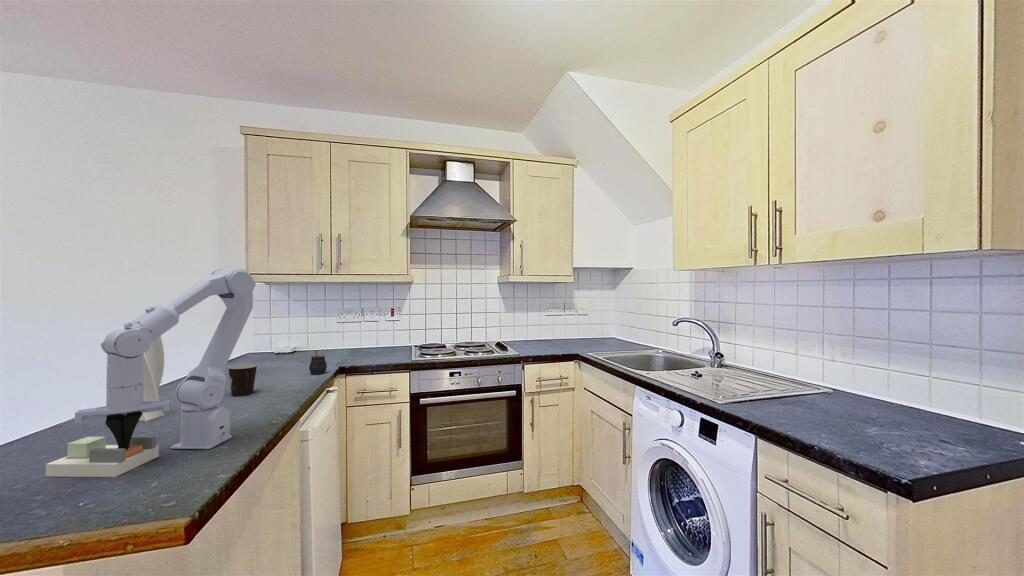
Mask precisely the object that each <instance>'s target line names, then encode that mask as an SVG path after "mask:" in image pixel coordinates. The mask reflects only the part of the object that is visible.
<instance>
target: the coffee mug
mask: <svg viewBox="0 0 1024 576" xmlns="http://www.w3.org/2000/svg"><path fill="white" fill-rule="evenodd" d="M257 366H258V365H257V364H237V365H232V366H231V365H230V366H229V367H228V376H229V382H230V391H231V392H230V393H231V397H246V396H249V395H253V393H254V387H255V380H256V373H257V368H258V367H257Z"/></svg>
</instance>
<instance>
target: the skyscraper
mask: <svg viewBox="0 0 1024 576" xmlns="http://www.w3.org/2000/svg"><path fill="white" fill-rule="evenodd" d="M164 369H165V349H164V343H163V338H162V335H161V336H159V337H158V338H157V339H155V340H154V341H153V342H151V345H150V347H149V349H148V351H147V352H145V353H144V373H143V402H145V401H161V400H160V396H159V393H158V392H159V389H160V386H161V384H162V379H163V376H164ZM165 416H169V413H164V411H162V410H161V411H153V412H145V413H143V414H142V416H141V417H140V419H139V421H138V422H146V423H147V422H149V421H153V420H156V419H158V418H162V417H165Z"/></svg>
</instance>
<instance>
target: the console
mask: <svg viewBox="0 0 1024 576" xmlns="http://www.w3.org/2000/svg"><path fill="white" fill-rule="evenodd" d="M130 445H142V452H140V453H137V454H135V455H133V456H131V457H128V458H126V459H125V449H115V448H118V444H106V448H94V449H91V450H89V458H87V459H67V455H66V456H64V457H61V458H59V459H56V460H53V461H50V462H48V463H46V464H45V477H46V478H49V477H50V478H51V477H54V478H55V477H57V478H61V477H62V478H63V477H64V478H65V477H68V478H69V477H70V478H73V477H74V478H75V477H76V478H116V477H119V476H121V475H123V474H124V473H127V472H129V471H131V470H133V469H135V468H138V467H140V466H142V465H144V464H146V463H148V462H150V461H152V460H154V459H156V458H159V456H160V445H157V435H132V437H131V441H130Z"/></svg>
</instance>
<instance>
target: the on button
mask: <svg viewBox="0 0 1024 576" xmlns="http://www.w3.org/2000/svg"><path fill="white" fill-rule="evenodd" d="M106 445H107V436H85V437H83V438H80V439H76V440H74V441H71V442H68V443H67V451H66V453H67V455H66V456H67V459H87V458H89V450H91V449H94V448H106Z"/></svg>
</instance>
